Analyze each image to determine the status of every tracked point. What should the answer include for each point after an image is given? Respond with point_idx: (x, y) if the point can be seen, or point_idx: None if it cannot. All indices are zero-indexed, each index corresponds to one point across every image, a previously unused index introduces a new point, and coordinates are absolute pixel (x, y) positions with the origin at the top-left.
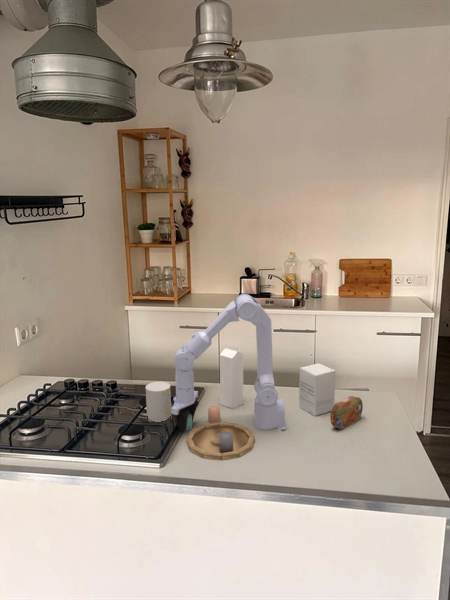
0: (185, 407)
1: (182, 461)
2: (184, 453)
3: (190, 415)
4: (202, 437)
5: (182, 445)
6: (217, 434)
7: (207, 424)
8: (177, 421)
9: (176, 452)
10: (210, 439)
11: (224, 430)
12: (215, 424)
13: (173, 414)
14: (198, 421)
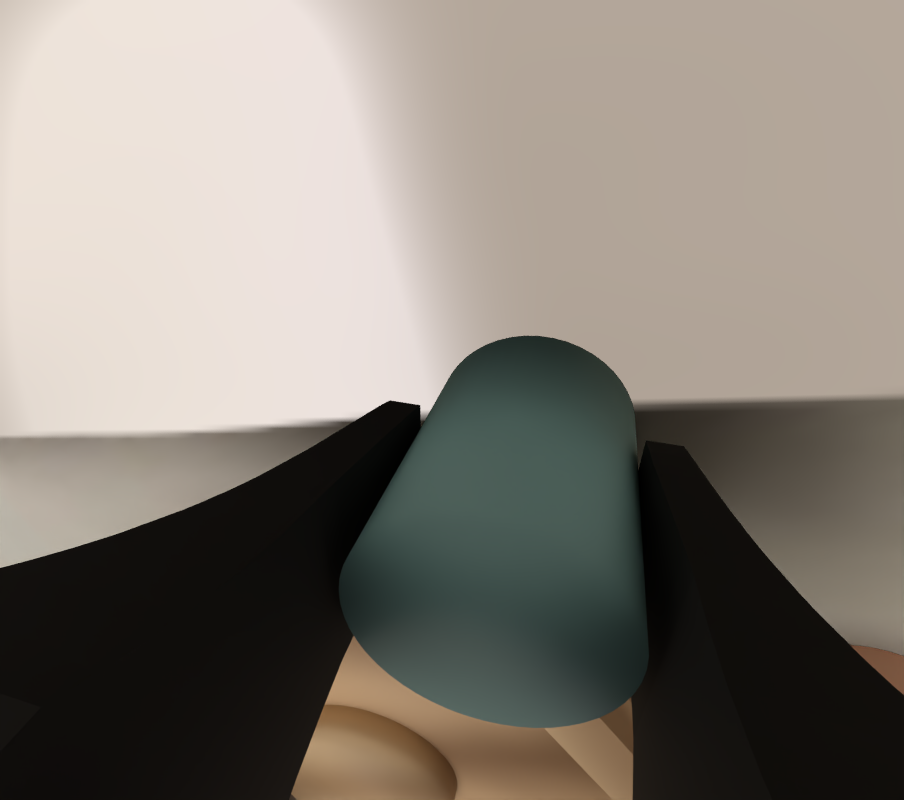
0: (705, 792)
1: (34, 528)
2: (116, 520)
3: (534, 706)
4: (361, 650)
5: (201, 475)
6: (398, 787)
7: (587, 733)
8: (278, 476)
9: (80, 456)
10: (363, 703)
11: (576, 797)
12: (614, 794)
13: (24, 566)
14: (893, 527)
